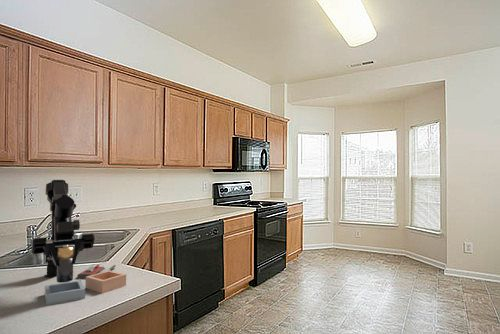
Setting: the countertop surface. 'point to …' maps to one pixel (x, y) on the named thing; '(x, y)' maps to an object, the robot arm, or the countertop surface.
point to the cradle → (64, 292)
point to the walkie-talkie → (93, 271)
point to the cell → (65, 263)
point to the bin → (105, 281)
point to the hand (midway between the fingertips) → (65, 264)
